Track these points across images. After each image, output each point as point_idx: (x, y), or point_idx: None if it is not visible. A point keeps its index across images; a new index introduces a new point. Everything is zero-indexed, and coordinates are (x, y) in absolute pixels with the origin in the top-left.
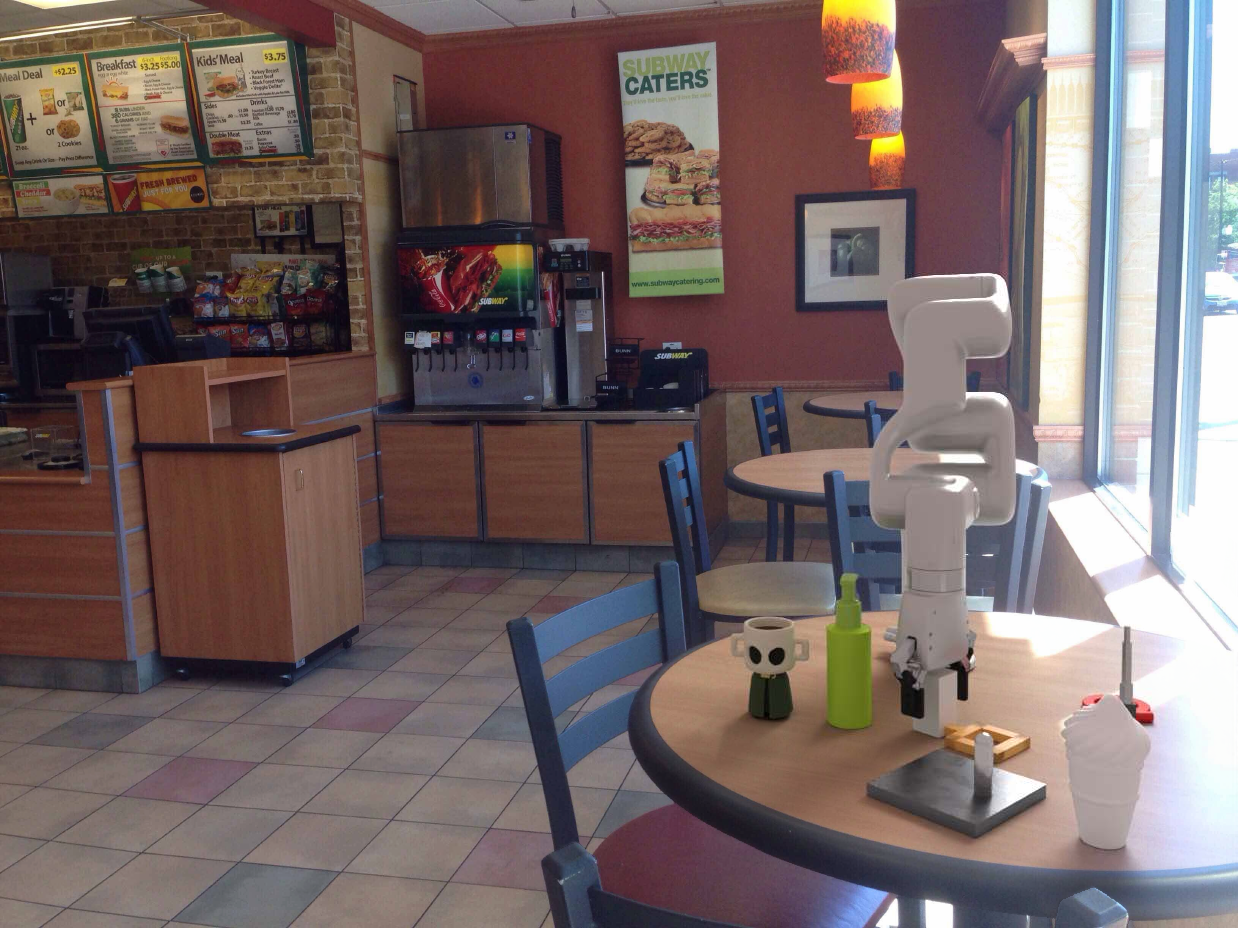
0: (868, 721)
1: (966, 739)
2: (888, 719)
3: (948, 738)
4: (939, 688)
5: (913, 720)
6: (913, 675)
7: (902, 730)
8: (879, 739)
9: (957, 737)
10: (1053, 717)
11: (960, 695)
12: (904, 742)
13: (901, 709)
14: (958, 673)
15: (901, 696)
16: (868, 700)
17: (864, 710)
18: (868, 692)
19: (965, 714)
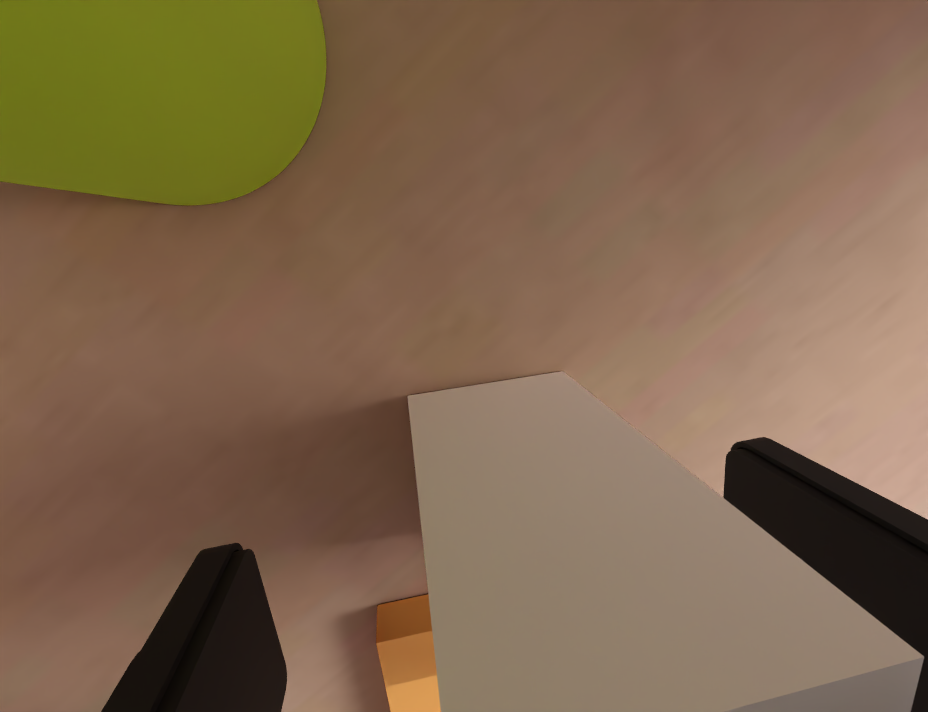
0: (210, 200)
1: (436, 695)
2: (411, 202)
3: (380, 655)
4: None
5: (411, 419)
6: (444, 709)
7: (354, 371)
8: (144, 392)
9: (421, 667)
10: None
11: None
12: (243, 489)
13: (197, 566)
14: (919, 706)
15: (137, 670)
16: (122, 185)
17: (110, 195)
18: (65, 171)
19: (751, 397)
